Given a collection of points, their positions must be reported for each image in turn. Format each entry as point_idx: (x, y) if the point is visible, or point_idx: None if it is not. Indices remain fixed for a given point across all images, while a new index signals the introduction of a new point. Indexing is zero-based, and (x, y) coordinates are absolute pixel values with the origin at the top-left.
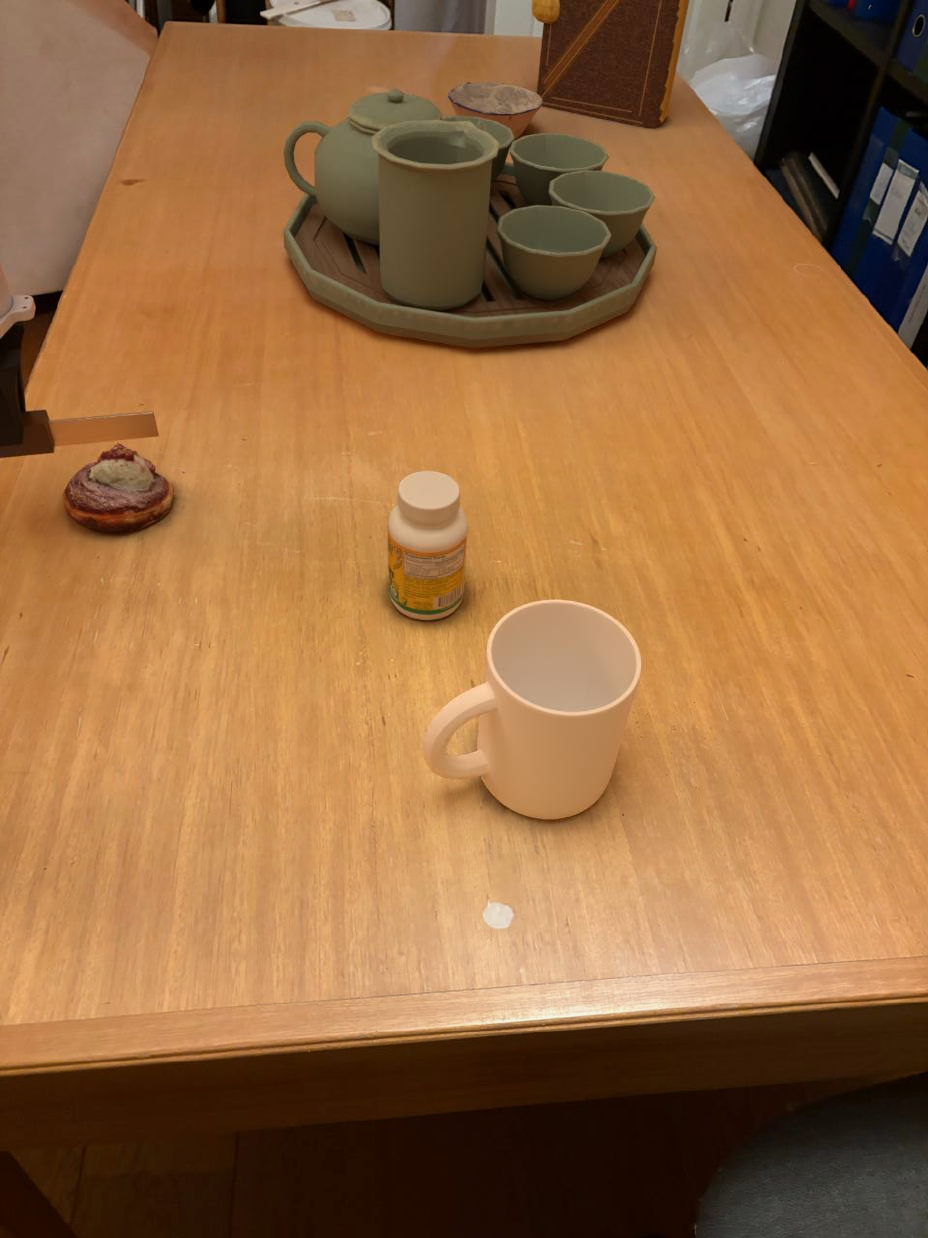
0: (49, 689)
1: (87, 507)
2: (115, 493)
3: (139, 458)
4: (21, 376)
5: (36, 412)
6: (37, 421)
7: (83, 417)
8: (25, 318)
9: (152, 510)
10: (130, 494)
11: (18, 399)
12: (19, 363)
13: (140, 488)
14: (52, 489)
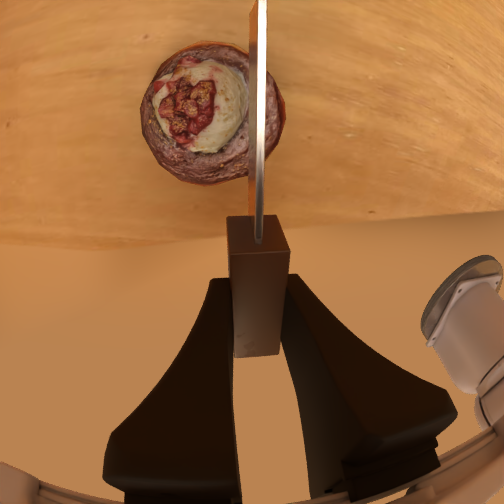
0: (449, 188)
1: (269, 151)
2: None
3: (194, 73)
4: (206, 339)
5: (240, 270)
6: (277, 264)
7: (256, 167)
8: None
9: None
10: None
11: (310, 329)
12: (443, 407)
13: (240, 76)
14: (164, 199)
